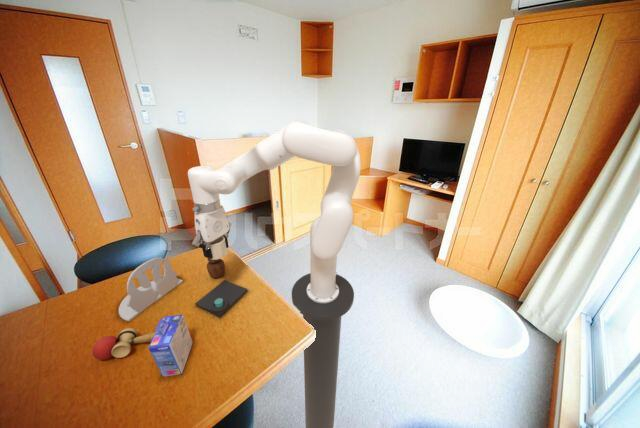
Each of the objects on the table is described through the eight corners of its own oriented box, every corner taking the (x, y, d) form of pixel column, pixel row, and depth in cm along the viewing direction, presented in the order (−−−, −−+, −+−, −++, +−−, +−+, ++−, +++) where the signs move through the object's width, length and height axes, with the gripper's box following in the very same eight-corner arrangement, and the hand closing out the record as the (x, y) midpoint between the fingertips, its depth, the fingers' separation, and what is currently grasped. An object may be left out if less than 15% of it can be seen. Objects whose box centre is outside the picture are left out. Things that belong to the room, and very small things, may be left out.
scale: (224, 282, 98) (223, 276, 97) (248, 291, 93) (247, 286, 92) (195, 306, 86) (193, 300, 85) (220, 319, 81) (219, 312, 80)
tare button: (219, 300, 85) (218, 297, 85) (225, 303, 84) (224, 299, 84) (213, 306, 83) (212, 302, 82) (219, 308, 82) (218, 305, 81)
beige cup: (217, 247, 88) (214, 233, 86) (231, 251, 86) (228, 237, 83) (203, 256, 83) (199, 242, 80) (217, 261, 80) (214, 246, 78)
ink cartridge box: (174, 344, 73) (161, 309, 67) (193, 341, 74) (182, 307, 67) (160, 377, 64) (144, 341, 58) (182, 374, 65) (168, 338, 59)
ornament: (128, 321, 80) (111, 283, 73) (103, 310, 84) (84, 272, 77) (184, 281, 98) (174, 246, 91) (161, 273, 103) (150, 239, 96)
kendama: (170, 328, 79) (100, 342, 72) (168, 316, 76) (94, 330, 68) (168, 351, 73) (91, 369, 66) (165, 339, 70) (84, 357, 62)
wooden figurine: (225, 269, 105) (220, 240, 99) (226, 277, 101) (221, 247, 94) (209, 273, 103) (202, 244, 97) (209, 281, 98) (202, 251, 92)
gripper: (192, 218, 68) (204, 268, 75) (236, 198, 82) (242, 242, 90) (175, 213, 70) (188, 262, 78) (219, 195, 85) (227, 238, 92)
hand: (217, 251), depth 84 cm, fingers closed on beige cup, 6 cm apart
